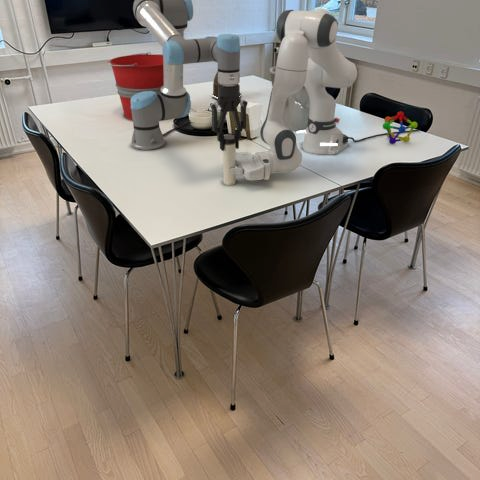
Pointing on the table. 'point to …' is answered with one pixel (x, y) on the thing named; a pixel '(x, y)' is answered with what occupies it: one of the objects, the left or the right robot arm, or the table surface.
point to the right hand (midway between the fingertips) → (227, 167)
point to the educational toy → (398, 128)
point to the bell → (216, 85)
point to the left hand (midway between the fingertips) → (229, 148)
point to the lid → (229, 139)
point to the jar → (229, 163)
